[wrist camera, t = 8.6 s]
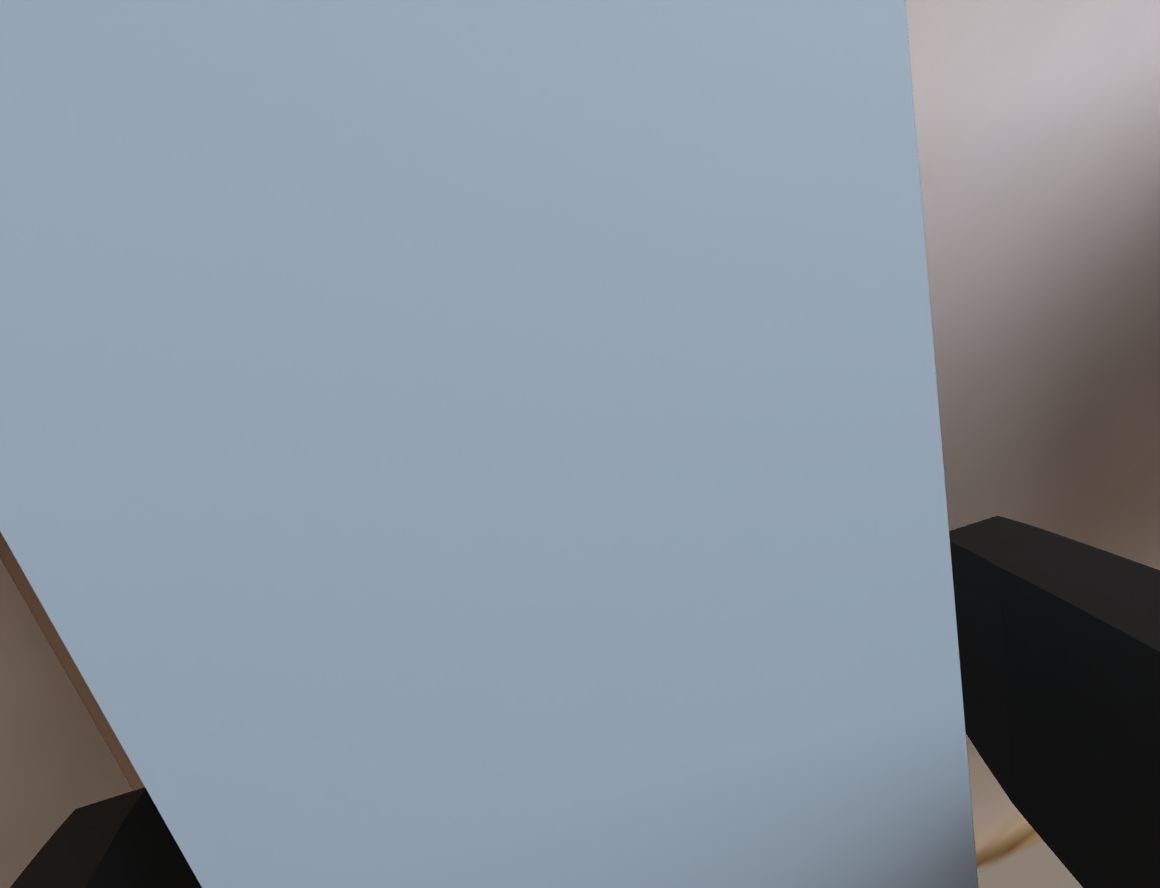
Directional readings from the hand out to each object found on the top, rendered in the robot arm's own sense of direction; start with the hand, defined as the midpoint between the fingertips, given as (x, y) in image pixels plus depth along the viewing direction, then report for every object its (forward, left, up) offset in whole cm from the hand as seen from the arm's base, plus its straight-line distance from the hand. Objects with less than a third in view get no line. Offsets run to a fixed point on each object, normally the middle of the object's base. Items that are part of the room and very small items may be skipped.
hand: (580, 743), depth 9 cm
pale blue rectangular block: (0, 0, -3) cm, 3 cm away
